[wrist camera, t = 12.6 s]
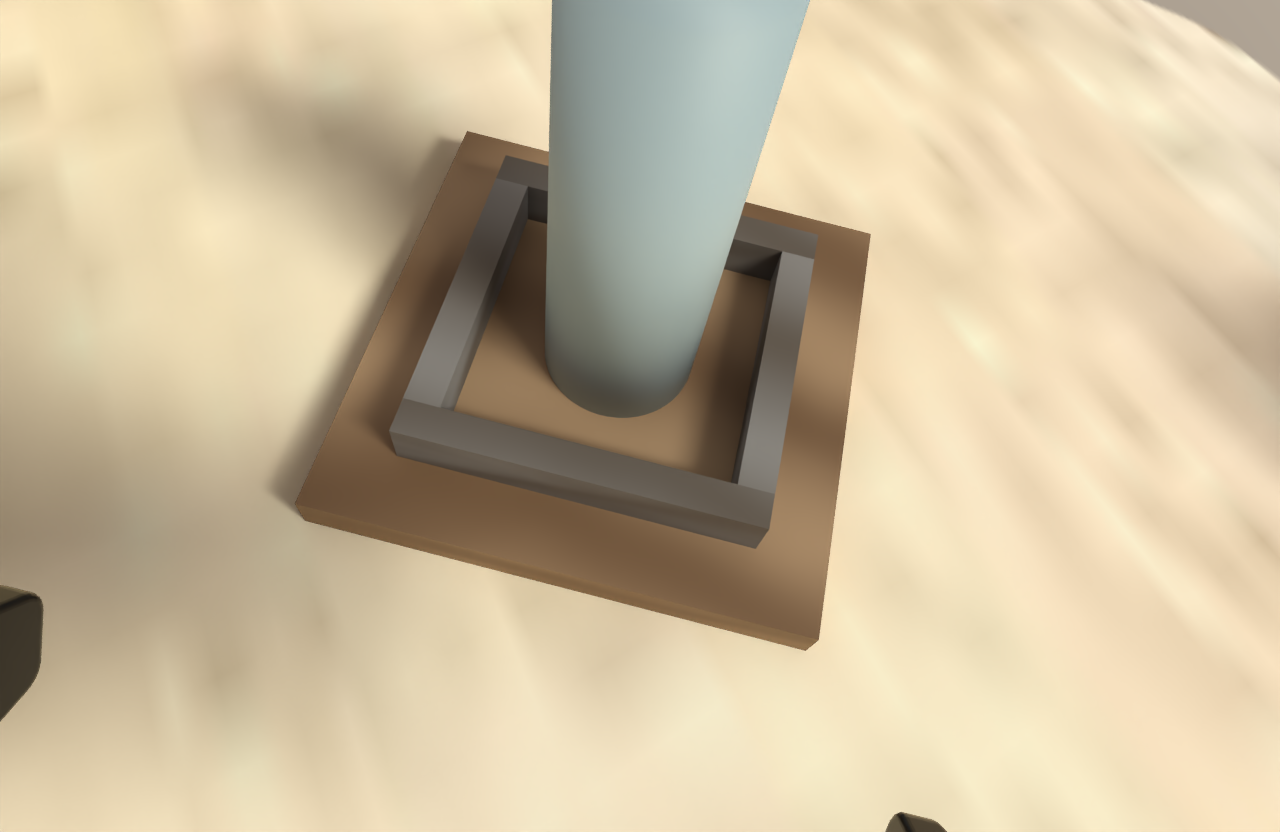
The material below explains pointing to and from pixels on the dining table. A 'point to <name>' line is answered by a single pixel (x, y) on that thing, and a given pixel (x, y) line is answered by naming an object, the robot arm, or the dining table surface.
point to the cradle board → (603, 418)
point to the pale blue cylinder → (650, 182)
